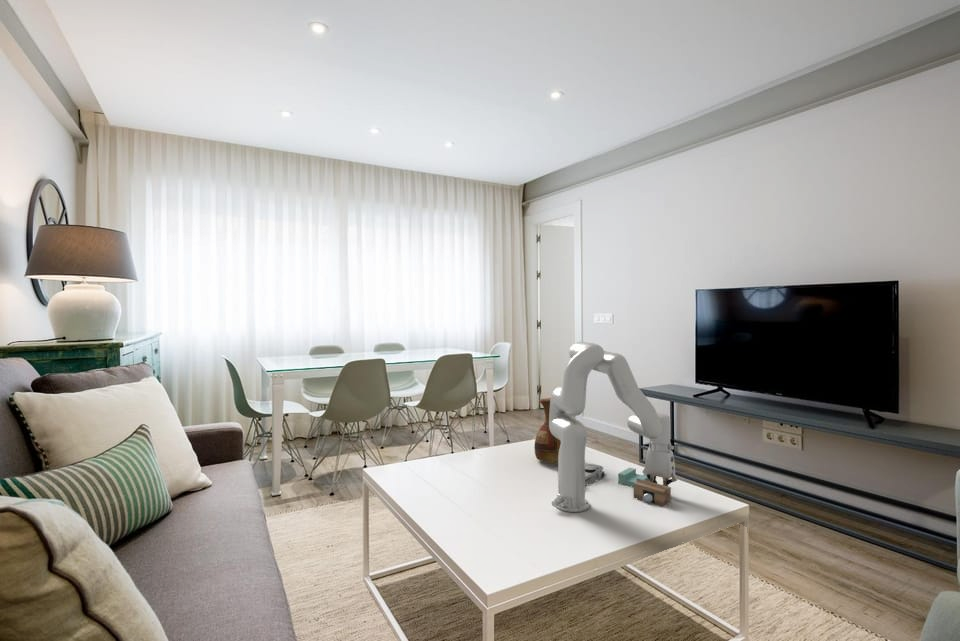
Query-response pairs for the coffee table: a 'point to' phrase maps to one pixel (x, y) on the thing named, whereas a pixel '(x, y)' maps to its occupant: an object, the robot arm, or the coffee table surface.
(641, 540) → the coffee table surface
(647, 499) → the axle
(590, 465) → the car model
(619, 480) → the v block
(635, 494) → the wooden bridge block
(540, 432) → the ceramic pitcher
